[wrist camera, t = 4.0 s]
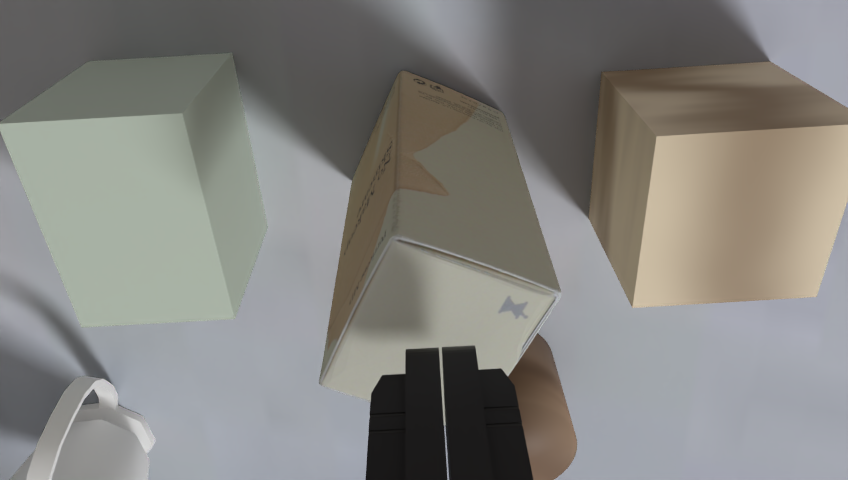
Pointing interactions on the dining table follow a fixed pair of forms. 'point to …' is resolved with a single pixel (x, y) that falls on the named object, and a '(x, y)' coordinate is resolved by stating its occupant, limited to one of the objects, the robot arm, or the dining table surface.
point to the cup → (90, 439)
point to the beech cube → (717, 183)
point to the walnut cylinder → (543, 412)
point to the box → (436, 243)
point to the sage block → (144, 187)
